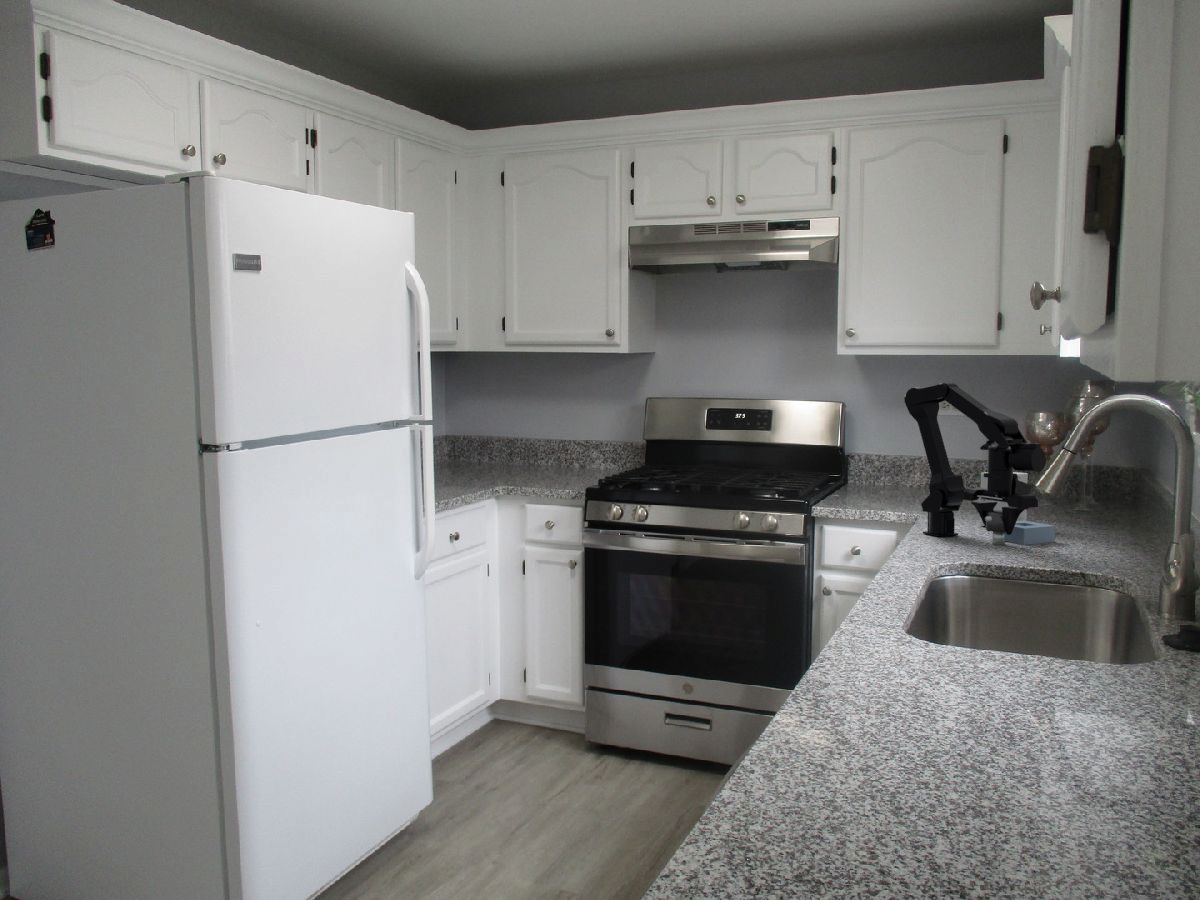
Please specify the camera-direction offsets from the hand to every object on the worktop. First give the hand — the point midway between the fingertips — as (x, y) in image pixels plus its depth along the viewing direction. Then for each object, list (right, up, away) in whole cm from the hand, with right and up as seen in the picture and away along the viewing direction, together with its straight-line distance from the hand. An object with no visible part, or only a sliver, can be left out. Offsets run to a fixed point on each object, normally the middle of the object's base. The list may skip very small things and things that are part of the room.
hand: (999, 532), depth 232 cm
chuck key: (0, -3, 0) cm, 3 cm away
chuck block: (+9, -2, +6) cm, 11 cm away
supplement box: (+13, -1, +28) cm, 31 cm away
